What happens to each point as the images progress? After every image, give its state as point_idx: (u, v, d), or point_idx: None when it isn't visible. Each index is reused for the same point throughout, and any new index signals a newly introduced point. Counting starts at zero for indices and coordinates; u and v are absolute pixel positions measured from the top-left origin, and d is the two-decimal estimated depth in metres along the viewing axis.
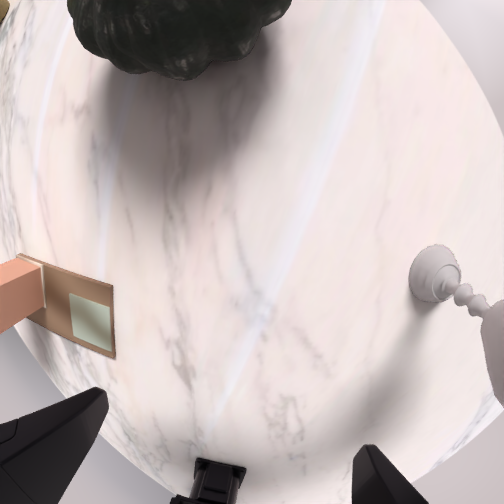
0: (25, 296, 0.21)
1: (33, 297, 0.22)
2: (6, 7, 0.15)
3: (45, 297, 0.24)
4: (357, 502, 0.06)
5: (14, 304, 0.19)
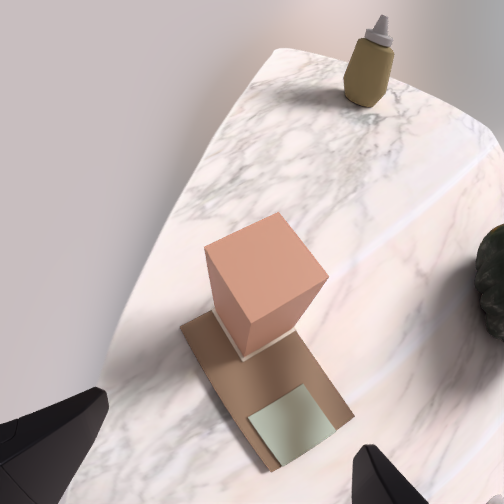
0: (272, 335, 0.19)
1: (264, 343, 0.20)
2: (374, 104, 0.42)
3: (257, 353, 0.21)
4: (357, 502, 0.06)
5: (272, 331, 0.18)
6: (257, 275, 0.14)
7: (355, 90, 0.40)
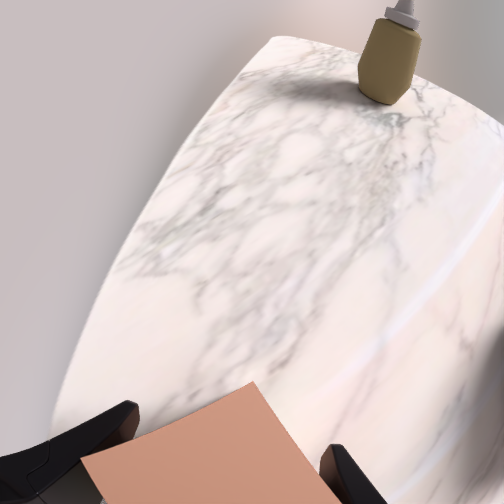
0: None
1: None
2: (396, 101, 0.32)
3: None
4: None
5: None
6: None
7: (374, 82, 0.30)
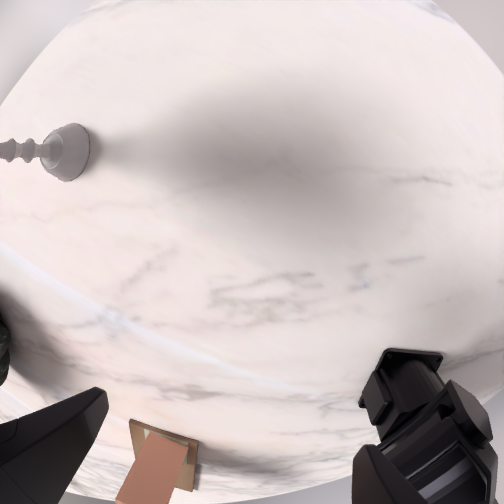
0: (162, 456, 0.22)
1: (170, 451, 0.23)
2: None
3: None
4: (357, 502, 0.06)
5: (158, 469, 0.20)
6: None
7: None
